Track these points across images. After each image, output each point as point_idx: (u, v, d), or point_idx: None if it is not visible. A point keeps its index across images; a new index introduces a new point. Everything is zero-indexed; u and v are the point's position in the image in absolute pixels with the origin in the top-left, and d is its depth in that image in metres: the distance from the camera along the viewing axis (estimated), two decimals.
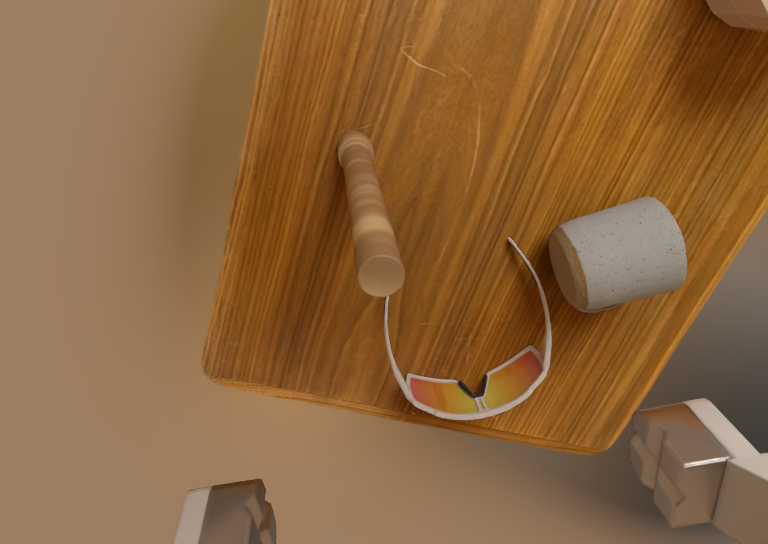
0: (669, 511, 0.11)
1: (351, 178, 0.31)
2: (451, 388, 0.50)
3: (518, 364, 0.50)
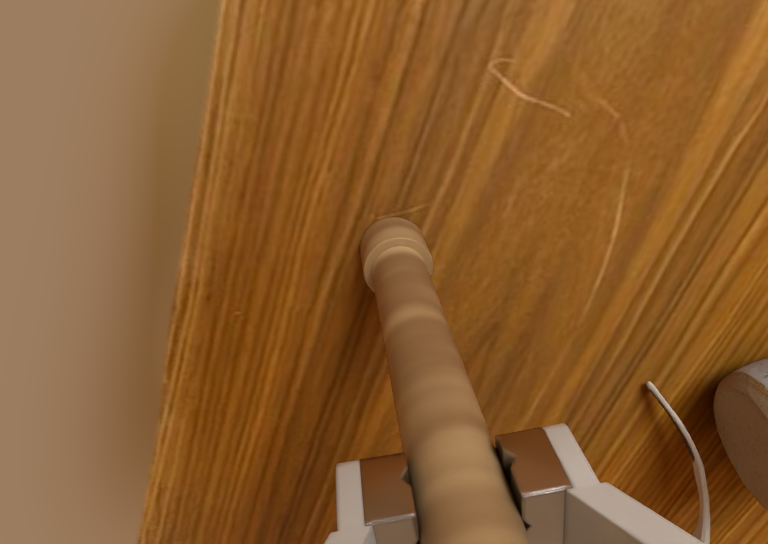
0: None
1: (409, 384, 0.13)
2: None
3: None
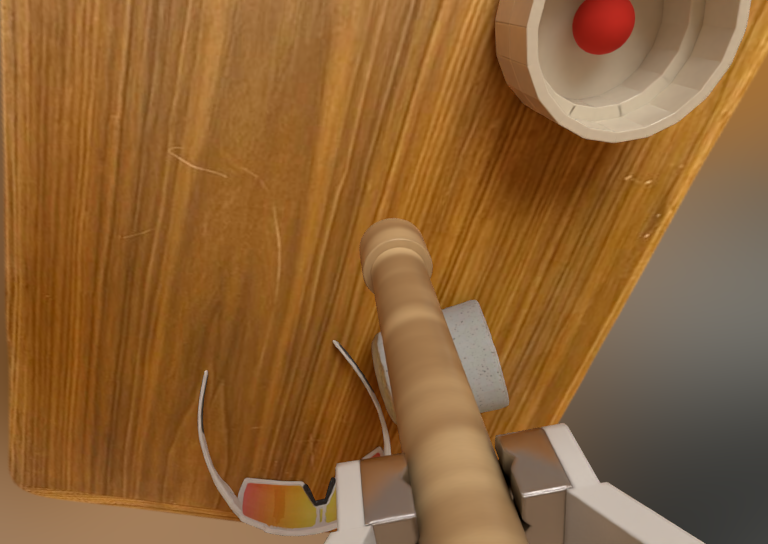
0: None
1: (408, 385, 0.13)
2: (295, 492, 0.46)
3: None
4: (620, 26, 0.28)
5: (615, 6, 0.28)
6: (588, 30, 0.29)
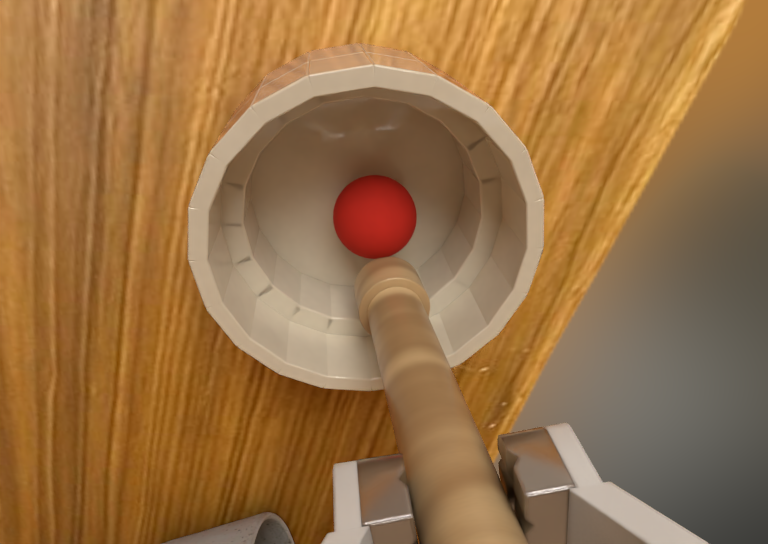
0: None
1: (424, 431, 0.12)
2: None
3: None
4: (395, 242, 0.20)
5: (386, 219, 0.19)
6: (352, 243, 0.20)
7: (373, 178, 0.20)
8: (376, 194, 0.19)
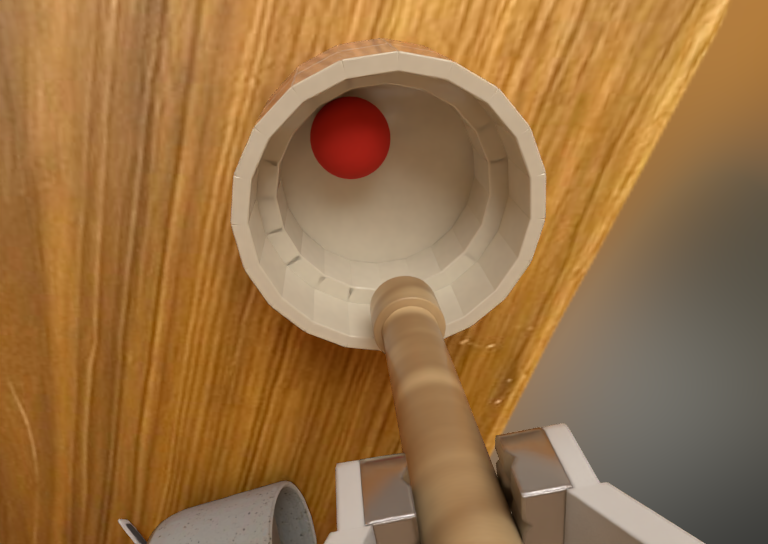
0: None
1: (454, 447, 0.12)
2: None
3: None
4: (333, 103, 0.20)
5: None
6: None
7: None
8: None
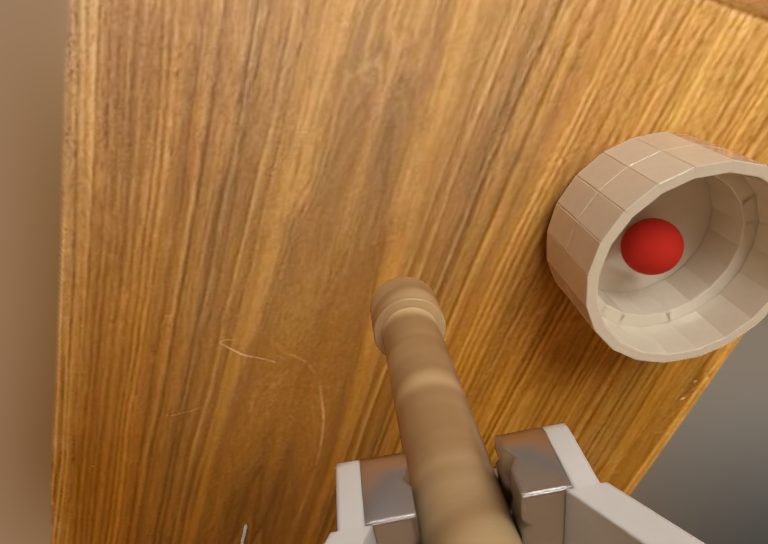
0: None
1: (454, 449, 0.12)
2: None
3: None
4: (669, 265, 0.29)
5: (673, 248, 0.29)
6: (641, 257, 0.29)
7: (666, 221, 0.29)
8: (670, 231, 0.29)
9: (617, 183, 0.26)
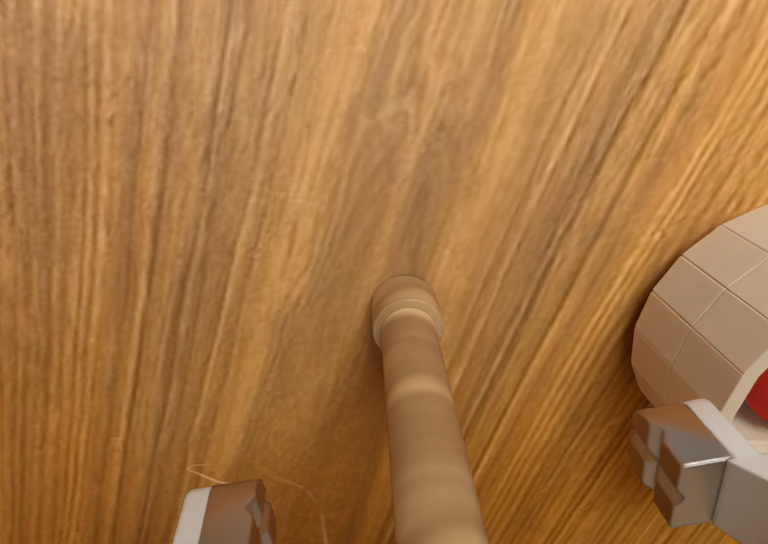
0: (670, 511, 0.11)
1: (434, 459, 0.12)
2: None
3: None
4: None
5: None
6: None
7: None
8: None
9: (760, 281, 0.18)
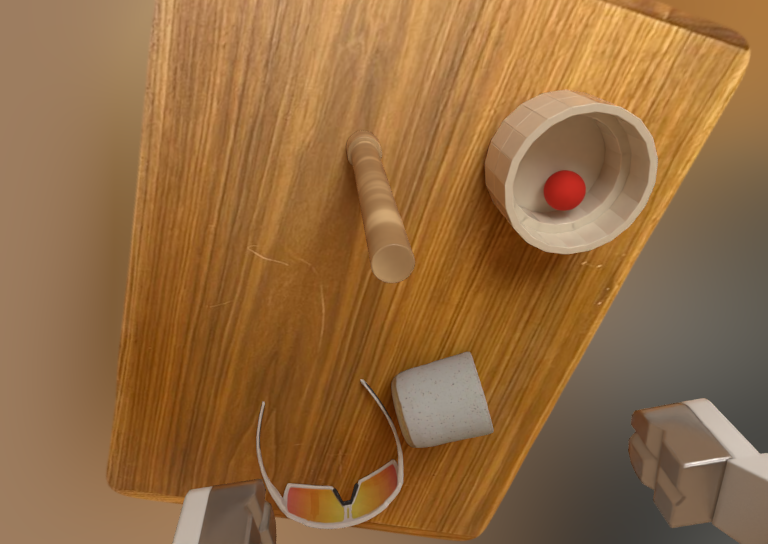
0: (669, 511, 0.11)
1: (372, 170, 0.33)
2: (327, 495, 0.58)
3: (383, 475, 0.58)
4: None
5: (579, 203, 0.42)
6: (558, 207, 0.42)
7: (580, 182, 0.41)
8: (581, 193, 0.41)
9: (525, 122, 0.38)
